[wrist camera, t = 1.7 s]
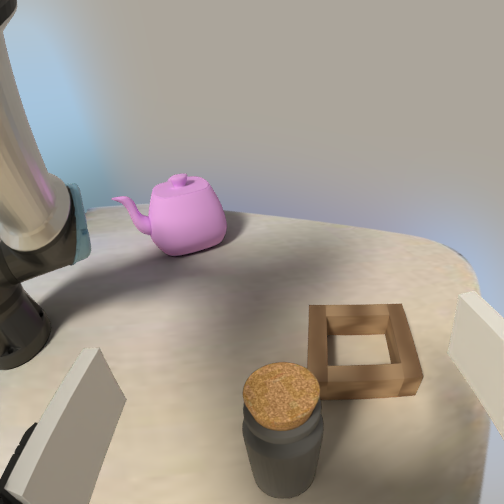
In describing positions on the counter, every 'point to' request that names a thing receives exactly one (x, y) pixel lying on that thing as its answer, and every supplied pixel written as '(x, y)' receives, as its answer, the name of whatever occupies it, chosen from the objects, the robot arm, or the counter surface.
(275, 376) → the bottle
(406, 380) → the block
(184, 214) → the teapot
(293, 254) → the counter surface
